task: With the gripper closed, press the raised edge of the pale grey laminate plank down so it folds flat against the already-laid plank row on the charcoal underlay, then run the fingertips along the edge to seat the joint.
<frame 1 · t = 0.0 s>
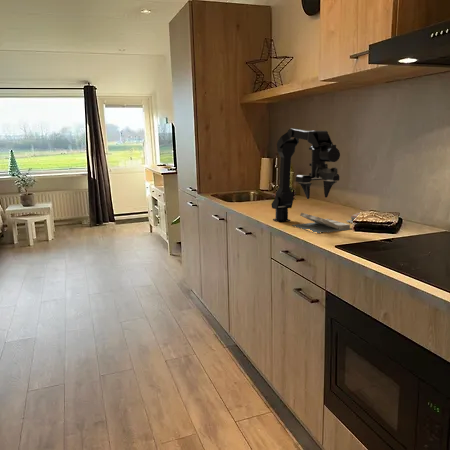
hand: (317, 198, 178), 15 cm above the worktop, tool pointing down, fingers open, 9 cm apart
underlay mat: (321, 227, 190), on the worktop
laid row: (332, 226, 192), resting on underlay mat
packaged product: (366, 225, 195), on the worktop
loose plank: (318, 220, 188), point 3 cm above the worktop, hinge at 25.0°
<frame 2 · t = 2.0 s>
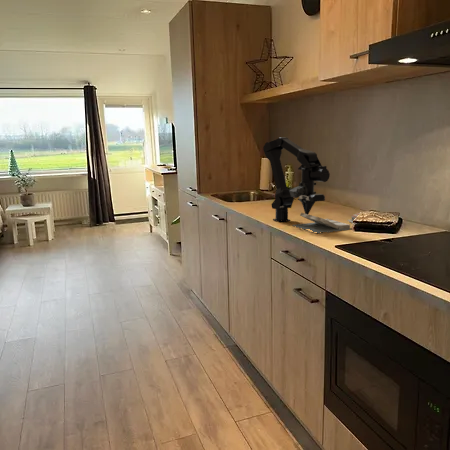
hand: (306, 214, 191), 6 cm above the worktop, tool pointing down, fingers closed, pressing on loose plank
loose plank: (318, 220, 188), point 3 cm above the worktop, hinge at 25.0°, touching gripper
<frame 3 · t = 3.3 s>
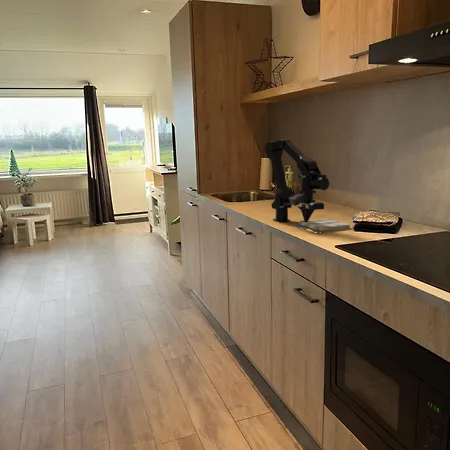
hand: (306, 222, 192), 2 cm above the worktop, tool pointing down, fingers closed, pressing on loose plank
loose plank: (318, 225, 189), point 1 cm above the worktop, hinge at 2.1°, touching gripper
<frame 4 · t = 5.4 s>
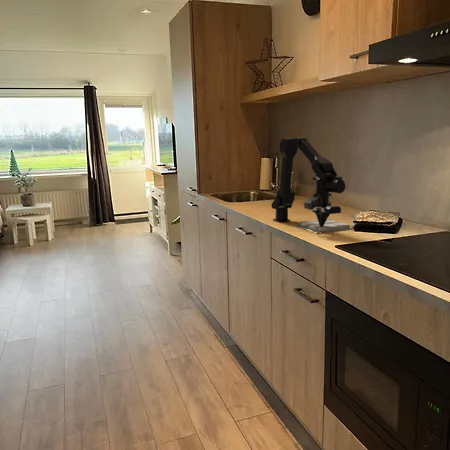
hand: (321, 226, 182), 2 cm above the worktop, tool pointing down, fingers closed, pressing on loose plank
loose plank: (318, 225, 189), point 1 cm above the worktop, hinge at 0.7°, touching gripper
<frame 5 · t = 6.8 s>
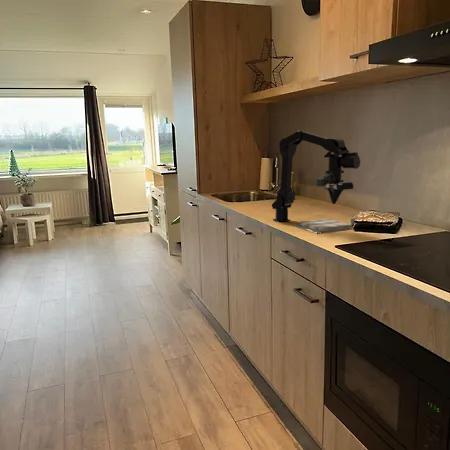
hand: (333, 203, 184), 11 cm above the worktop, tool pointing down, fingers closed
loose plank: (318, 225, 189), point 1 cm above the worktop, hinge at 0.7°
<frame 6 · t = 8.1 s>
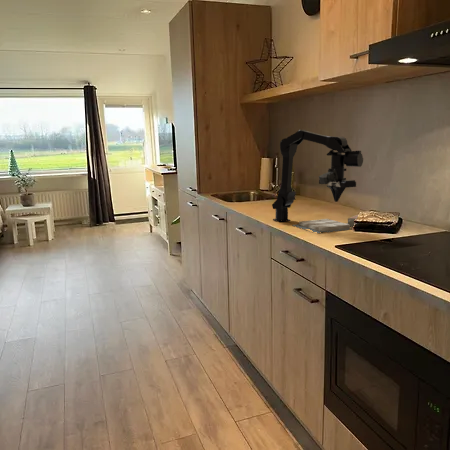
hand: (336, 201, 185), 12 cm above the worktop, tool pointing down, fingers closed
at the end: loose plank at +1° (first picture: +25°); the gripper is holding nothing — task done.
